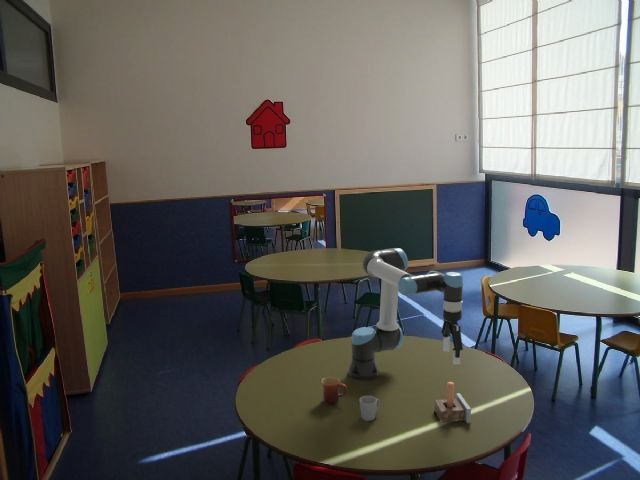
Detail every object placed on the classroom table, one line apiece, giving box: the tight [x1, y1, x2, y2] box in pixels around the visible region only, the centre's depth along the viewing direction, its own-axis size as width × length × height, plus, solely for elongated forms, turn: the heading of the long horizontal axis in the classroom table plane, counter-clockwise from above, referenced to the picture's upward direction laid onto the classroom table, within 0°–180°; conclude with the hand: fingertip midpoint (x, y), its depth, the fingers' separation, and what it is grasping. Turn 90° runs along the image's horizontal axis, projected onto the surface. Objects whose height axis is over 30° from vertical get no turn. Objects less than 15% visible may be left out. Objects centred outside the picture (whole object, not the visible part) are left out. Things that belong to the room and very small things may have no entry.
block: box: [434, 398, 465, 423], centre depth 237 cm, size 10×10×5 cm
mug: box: [320, 376, 348, 406], centre depth 250 cm, size 12×9×10 cm
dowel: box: [446, 381, 455, 408], centre depth 235 cm, size 3×3×14 cm
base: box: [455, 392, 472, 423], centre depth 237 cm, size 2×14×6 cm, turn 5°
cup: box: [359, 395, 381, 422], centre depth 237 cm, size 8×10×8 cm
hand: (451, 357), depth 232 cm, fingers open, 13 cm apart
